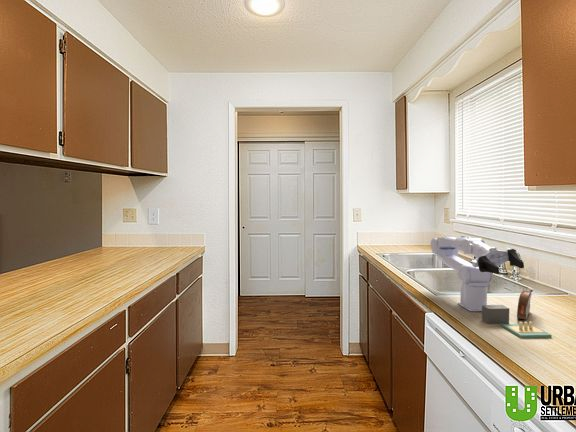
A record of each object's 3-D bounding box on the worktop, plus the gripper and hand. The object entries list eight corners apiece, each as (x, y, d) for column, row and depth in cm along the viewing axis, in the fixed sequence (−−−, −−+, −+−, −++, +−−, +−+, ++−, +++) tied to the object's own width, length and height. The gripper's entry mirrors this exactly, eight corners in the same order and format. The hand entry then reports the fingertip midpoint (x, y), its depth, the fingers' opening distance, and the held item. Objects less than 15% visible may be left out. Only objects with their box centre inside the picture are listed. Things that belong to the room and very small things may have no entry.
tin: (521, 309, 129) (522, 287, 128) (531, 311, 127) (532, 288, 126) (515, 321, 117) (516, 296, 116) (527, 323, 115) (528, 298, 114)
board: (502, 326, 112) (502, 317, 112) (530, 326, 112) (530, 317, 112) (520, 337, 103) (521, 327, 103) (551, 337, 103) (551, 327, 103)
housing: (481, 319, 119) (482, 305, 118) (501, 319, 119) (502, 304, 118) (488, 323, 115) (488, 308, 114) (509, 323, 115) (509, 308, 114)
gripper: (464, 248, 123) (485, 261, 109) (505, 238, 122) (532, 250, 109) (466, 266, 124) (488, 282, 111) (508, 257, 123) (534, 271, 110)
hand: (510, 268), depth 110 cm, fingers open, 7 cm apart
